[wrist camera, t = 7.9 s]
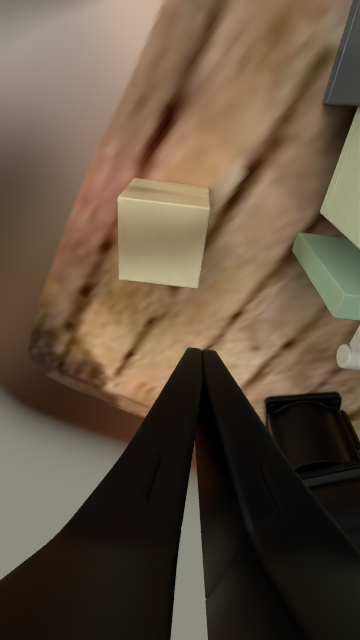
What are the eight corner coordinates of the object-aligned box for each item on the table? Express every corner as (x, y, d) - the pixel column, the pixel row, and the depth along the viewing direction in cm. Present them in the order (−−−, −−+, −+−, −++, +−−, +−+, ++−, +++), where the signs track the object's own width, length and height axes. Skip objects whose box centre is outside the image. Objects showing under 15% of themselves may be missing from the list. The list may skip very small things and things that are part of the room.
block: (198, 256, 20) (197, 289, 17) (132, 248, 20) (118, 279, 17) (208, 186, 18) (210, 207, 14) (133, 177, 18) (117, 196, 14)
